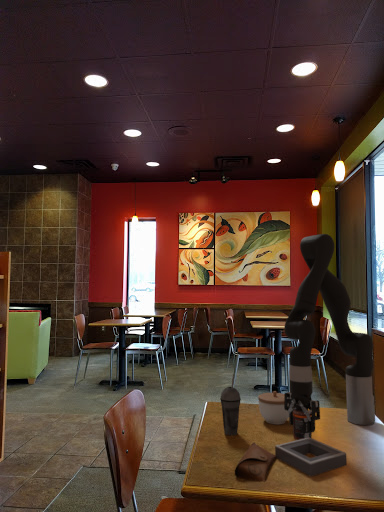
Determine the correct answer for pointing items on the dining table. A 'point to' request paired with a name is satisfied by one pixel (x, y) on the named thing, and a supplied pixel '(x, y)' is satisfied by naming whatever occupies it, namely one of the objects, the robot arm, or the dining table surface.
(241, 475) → the sunglasses case
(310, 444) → the holder block
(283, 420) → the lidded bowl
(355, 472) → the dining table surface
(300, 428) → the supplement bottle
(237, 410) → the beverage cup
